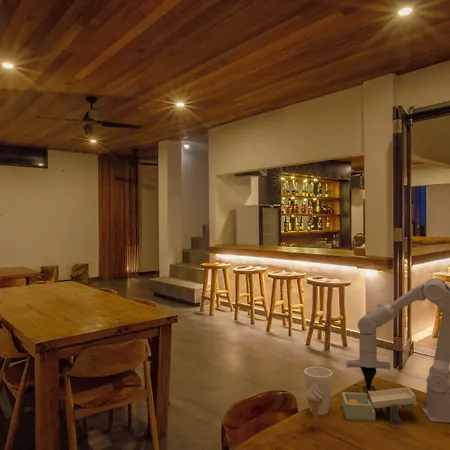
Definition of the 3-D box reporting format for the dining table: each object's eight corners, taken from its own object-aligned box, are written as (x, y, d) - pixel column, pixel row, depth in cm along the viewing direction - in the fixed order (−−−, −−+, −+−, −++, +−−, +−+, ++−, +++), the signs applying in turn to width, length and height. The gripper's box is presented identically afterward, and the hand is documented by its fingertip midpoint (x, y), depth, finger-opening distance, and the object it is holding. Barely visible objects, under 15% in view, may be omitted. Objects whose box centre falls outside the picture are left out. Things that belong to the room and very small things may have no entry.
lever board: (403, 389, 138) (400, 375, 138) (418, 410, 123) (415, 395, 123) (363, 394, 140) (360, 381, 140) (373, 416, 125) (370, 400, 125)
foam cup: (334, 418, 127) (333, 378, 127) (304, 416, 129) (304, 376, 128) (332, 404, 136) (331, 367, 136) (304, 402, 138) (304, 366, 138)
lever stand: (393, 407, 133) (392, 391, 133) (403, 424, 122) (402, 407, 122) (380, 407, 134) (380, 391, 134) (389, 424, 123) (389, 406, 123)
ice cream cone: (314, 435, 117) (313, 385, 117) (302, 426, 122) (301, 378, 122) (328, 430, 120) (328, 381, 119) (316, 422, 125) (315, 375, 124)
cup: (369, 408, 133) (369, 393, 133) (375, 421, 124) (375, 405, 124) (341, 406, 135) (341, 392, 135) (345, 419, 126) (345, 404, 126)
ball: (353, 394, 132) (343, 400, 132) (355, 400, 128) (345, 406, 128) (360, 405, 131) (349, 410, 132) (362, 410, 127) (351, 416, 128)
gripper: (386, 346, 141) (386, 384, 141) (345, 345, 143) (345, 382, 143) (392, 353, 134) (392, 393, 134) (348, 351, 136) (348, 390, 136)
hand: (368, 388), depth 138 cm, fingers closed, pressing on lever board
